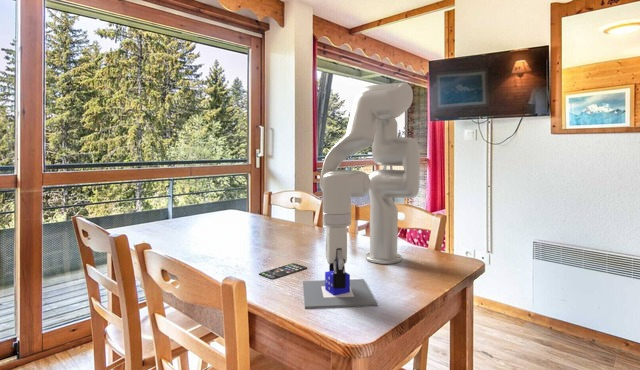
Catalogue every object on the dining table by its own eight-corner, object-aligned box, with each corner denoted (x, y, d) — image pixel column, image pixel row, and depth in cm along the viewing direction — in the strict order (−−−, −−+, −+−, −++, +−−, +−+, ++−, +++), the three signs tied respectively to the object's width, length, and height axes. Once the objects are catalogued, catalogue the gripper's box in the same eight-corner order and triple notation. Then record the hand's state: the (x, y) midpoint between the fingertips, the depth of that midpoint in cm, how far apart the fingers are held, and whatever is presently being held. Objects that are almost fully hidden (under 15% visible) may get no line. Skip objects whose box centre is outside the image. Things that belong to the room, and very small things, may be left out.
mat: (303, 282, 111) (303, 280, 111) (363, 280, 112) (363, 278, 112) (305, 308, 93) (304, 306, 93) (377, 305, 95) (377, 303, 94)
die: (333, 295, 100) (333, 277, 99) (324, 289, 104) (324, 271, 104) (350, 292, 102) (350, 274, 101) (340, 286, 106) (340, 269, 106)
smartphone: (257, 273, 119) (293, 262, 129) (257, 275, 119) (293, 264, 130) (272, 279, 114) (308, 267, 124) (272, 281, 114) (308, 269, 124)
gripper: (320, 213, 109) (320, 271, 111) (325, 226, 92) (326, 294, 94) (346, 213, 110) (346, 270, 111) (356, 225, 93) (356, 293, 94)
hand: (337, 281), depth 103 cm, fingers open, 9 cm apart
